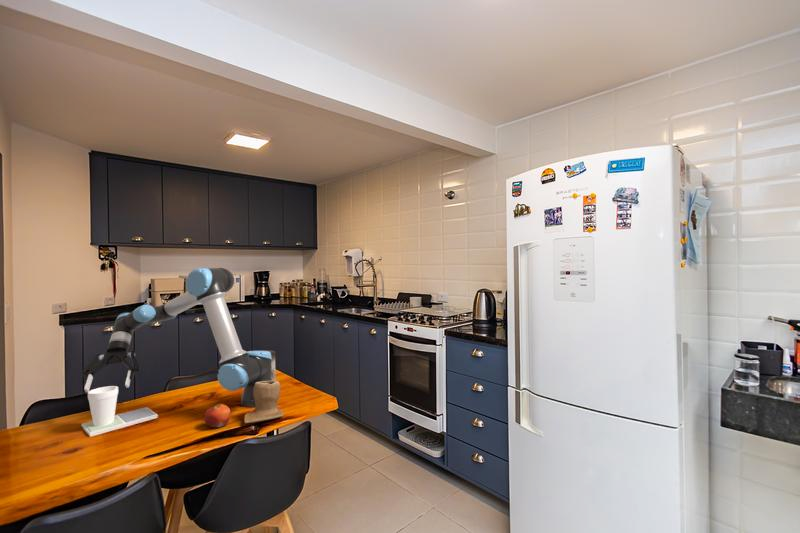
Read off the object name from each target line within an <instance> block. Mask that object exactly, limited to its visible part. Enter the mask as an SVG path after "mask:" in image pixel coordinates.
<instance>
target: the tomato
mask: <svg viewBox="0 0 800 533" xmlns="http://www.w3.org/2000/svg"><path fill="white" fill-rule="evenodd" d="M230 419H231V409H230V408H229V406H227V405H226V404H223V403H218V404H216V405H214V406H212V407H209V408H208V409H207V410H205V414H204V423H205V425H207V426H209V427H211V428H220V427H224V426H226V425H227V424H228V423H229V421H230Z"/></svg>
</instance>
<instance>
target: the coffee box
mask: <svg viewBox="0 0 800 533" xmlns="http://www.w3.org/2000/svg"><path fill="white" fill-rule="evenodd" d="M268 351H269V352H270V353H271V358H272V360H271V368H272V381H276V351H274V350H271V349H270V350H268Z"/></svg>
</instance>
